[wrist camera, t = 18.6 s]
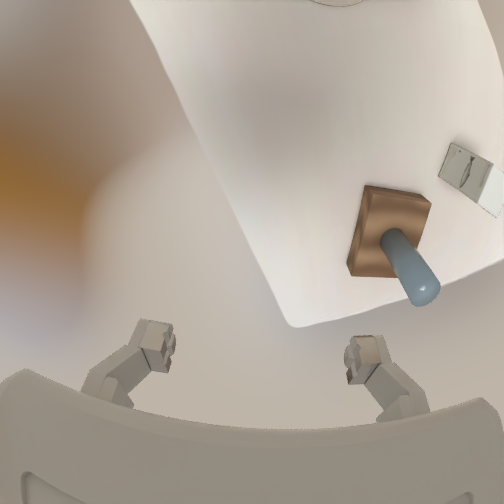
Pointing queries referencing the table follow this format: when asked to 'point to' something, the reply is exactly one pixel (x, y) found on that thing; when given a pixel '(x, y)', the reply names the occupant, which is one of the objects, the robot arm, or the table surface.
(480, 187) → the supplement box
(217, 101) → the table surface
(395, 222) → the plate
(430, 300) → the slate cylinder
